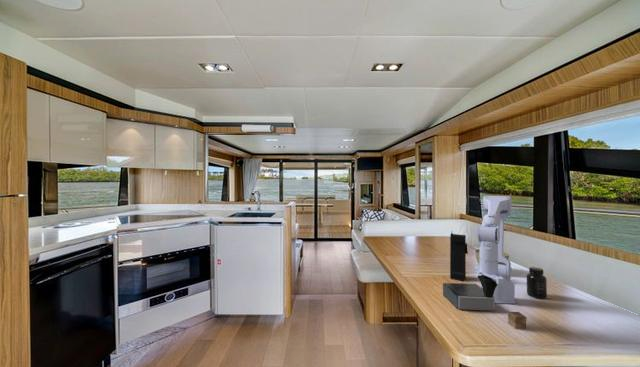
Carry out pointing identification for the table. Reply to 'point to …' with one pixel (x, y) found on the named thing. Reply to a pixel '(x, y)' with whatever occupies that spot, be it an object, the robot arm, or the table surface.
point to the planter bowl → (498, 262)
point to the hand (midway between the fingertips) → (488, 296)
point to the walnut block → (517, 320)
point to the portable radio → (458, 256)
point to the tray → (475, 303)
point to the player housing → (461, 292)
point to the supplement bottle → (536, 283)
